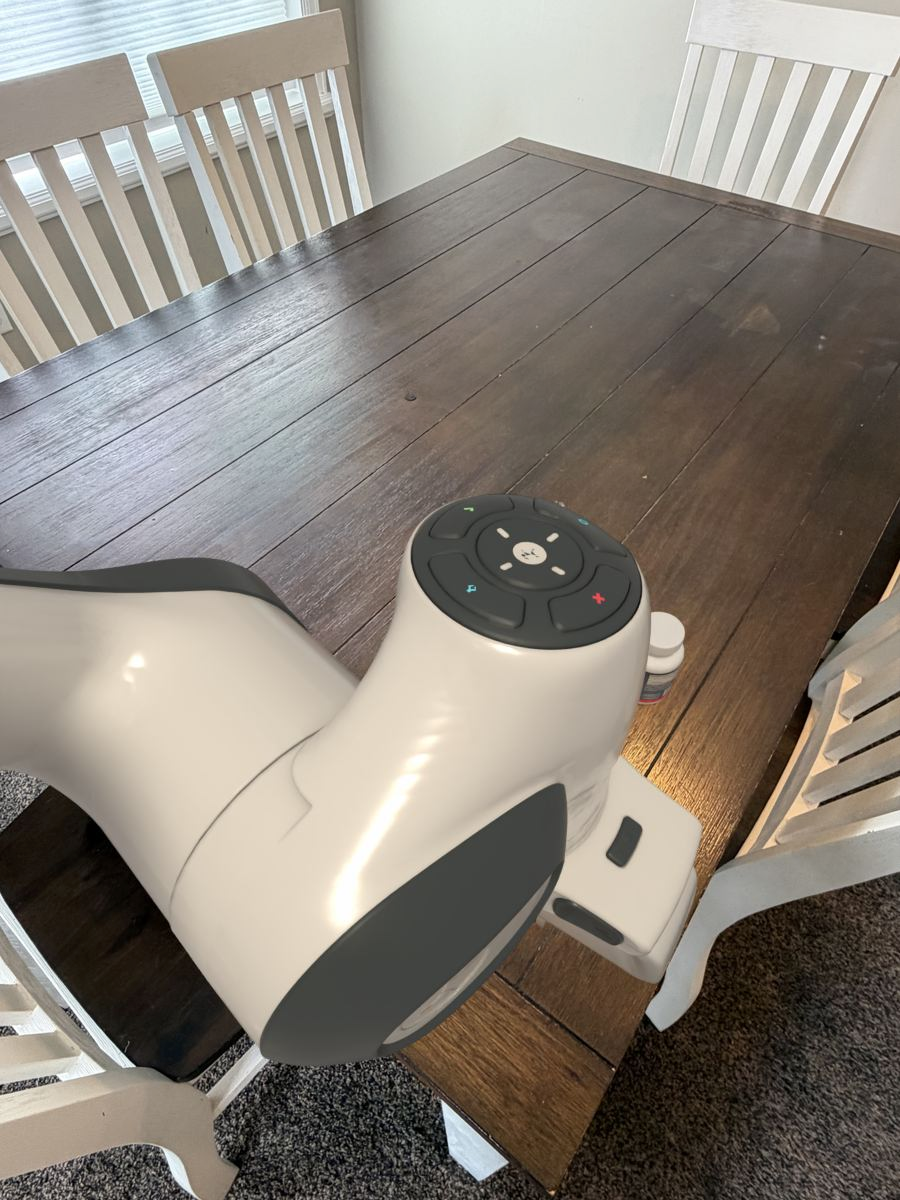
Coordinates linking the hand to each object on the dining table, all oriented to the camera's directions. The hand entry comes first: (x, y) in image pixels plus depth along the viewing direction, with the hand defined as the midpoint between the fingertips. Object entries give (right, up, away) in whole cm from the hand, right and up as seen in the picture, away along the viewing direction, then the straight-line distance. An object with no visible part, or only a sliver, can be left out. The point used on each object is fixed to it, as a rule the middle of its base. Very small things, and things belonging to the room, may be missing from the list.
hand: (493, 880), depth 44 cm
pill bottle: (+16, +9, +26) cm, 32 cm away
